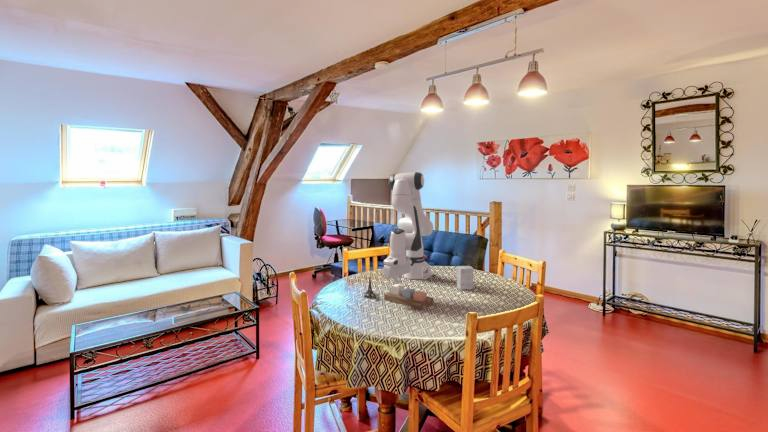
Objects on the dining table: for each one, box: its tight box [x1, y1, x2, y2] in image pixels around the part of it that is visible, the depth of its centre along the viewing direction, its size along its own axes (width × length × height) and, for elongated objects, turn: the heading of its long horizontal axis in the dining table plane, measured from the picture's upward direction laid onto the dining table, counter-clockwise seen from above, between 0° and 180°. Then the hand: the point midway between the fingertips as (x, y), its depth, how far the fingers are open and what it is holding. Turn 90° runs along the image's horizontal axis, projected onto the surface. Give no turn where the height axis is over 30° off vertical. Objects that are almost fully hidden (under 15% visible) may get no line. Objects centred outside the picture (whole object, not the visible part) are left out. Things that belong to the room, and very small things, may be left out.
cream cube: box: [390, 283, 405, 296], centre depth 220 cm, size 5×5×5 cm
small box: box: [456, 265, 474, 291], centre depth 238 cm, size 8×6×13 cm
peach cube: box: [413, 290, 428, 302], centre depth 210 cm, size 5×5×5 cm
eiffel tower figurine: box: [363, 275, 381, 302], centre depth 222 cm, size 15×10×13 cm
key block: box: [383, 291, 434, 311], centre depth 215 cm, size 12×24×3 cm, turn 50°
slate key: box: [402, 287, 416, 299], centre depth 215 cm, size 5×5×5 cm
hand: (397, 283), depth 219 cm, fingers closed
